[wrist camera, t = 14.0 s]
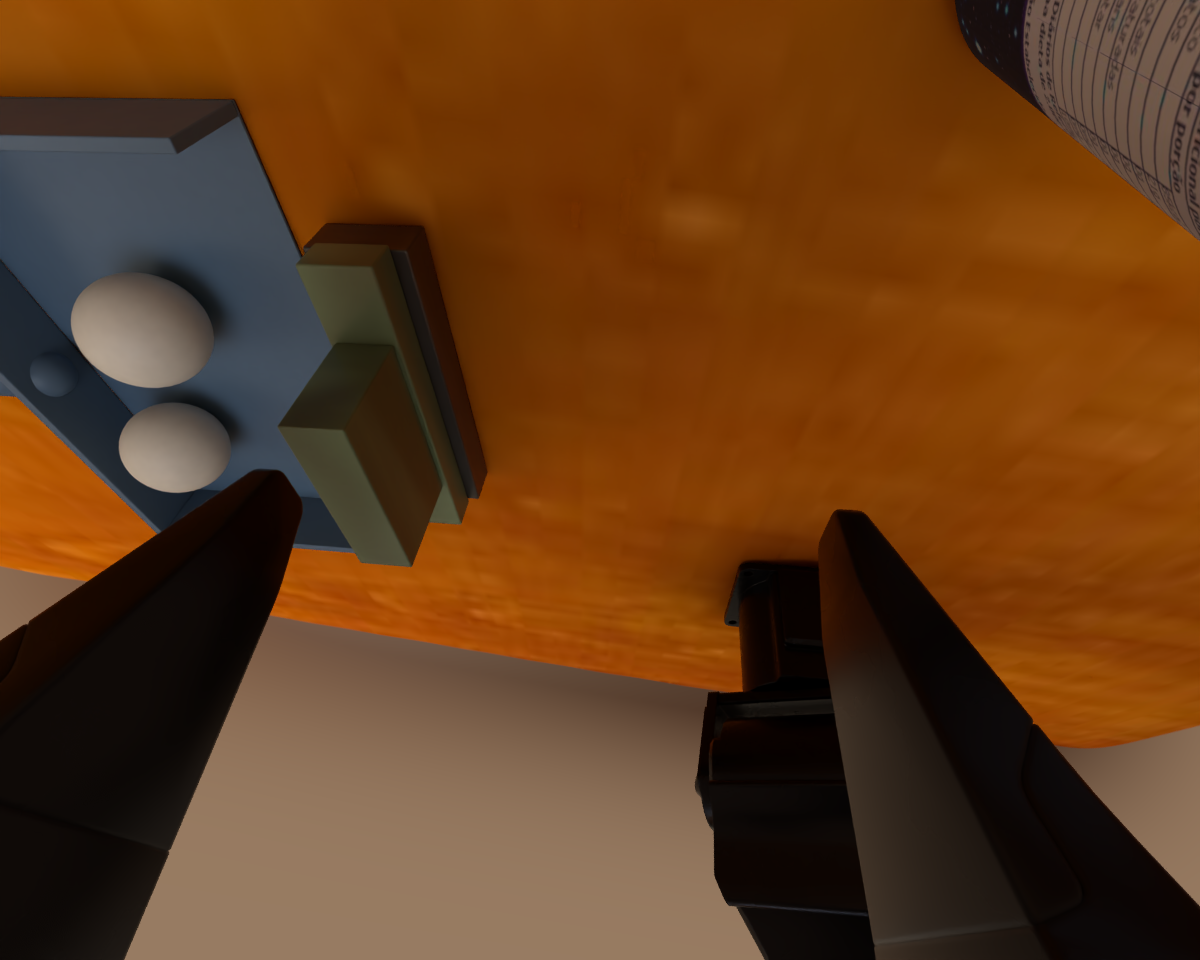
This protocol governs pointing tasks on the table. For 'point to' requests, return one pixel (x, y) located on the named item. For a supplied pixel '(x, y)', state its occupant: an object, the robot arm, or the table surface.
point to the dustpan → (165, 249)
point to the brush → (383, 394)
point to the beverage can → (1107, 82)
